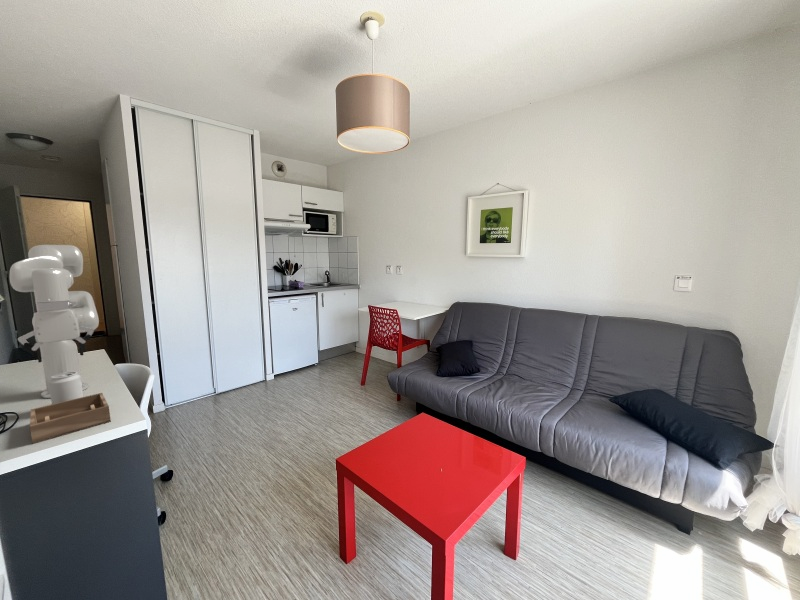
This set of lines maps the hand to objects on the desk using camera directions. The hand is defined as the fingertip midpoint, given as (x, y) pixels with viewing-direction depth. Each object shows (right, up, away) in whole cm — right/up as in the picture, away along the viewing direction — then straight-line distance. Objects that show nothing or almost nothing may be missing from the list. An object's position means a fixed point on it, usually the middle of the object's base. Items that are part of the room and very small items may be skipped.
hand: (61, 358), depth 108 cm
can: (0, -18, +2) cm, 18 cm away
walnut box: (+12, -18, -8) cm, 24 cm away
